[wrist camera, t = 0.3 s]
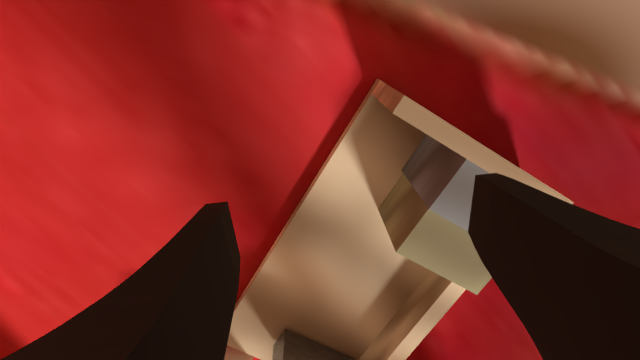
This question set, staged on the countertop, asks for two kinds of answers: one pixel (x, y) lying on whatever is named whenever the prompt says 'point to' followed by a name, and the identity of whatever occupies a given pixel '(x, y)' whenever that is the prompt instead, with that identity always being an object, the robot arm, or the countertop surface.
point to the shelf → (375, 238)
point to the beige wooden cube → (236, 355)
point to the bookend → (303, 349)
